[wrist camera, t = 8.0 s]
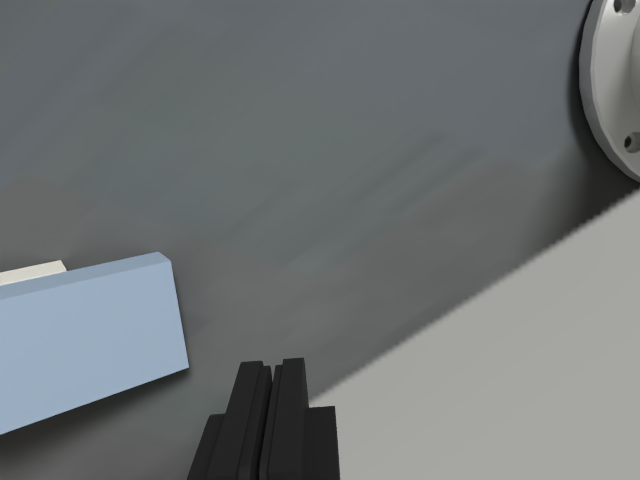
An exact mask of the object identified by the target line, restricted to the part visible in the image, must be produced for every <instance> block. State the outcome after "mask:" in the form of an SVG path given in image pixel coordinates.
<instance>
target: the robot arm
mask: <svg viewBox="0 0 640 480" xmlns="http://www.w3.org/2000/svg"><path fill="white" fill-rule="evenodd" d="M613 5H614V7H613ZM579 88H580V93H581V98H582V103H583V108H584V113H585V116H586V119H587V121H588V123H589V126H590V128H591V131H592V133H593V136H594V138H595V140H596V141H597V143H598V144H599V145H600V147H601V148H602V150H603V151H604V153H605V154H606V155H607V157H608V158H609V160H610V161H612V162H613V163H614V164H615V165H616V166H617V167H618V168H619V169H620V170H621V171H623V172H624V173H625V174H626V175H627V176H629V177H630V178H632V179H634V180H636V181H638V182H639V183H640V0H593V2H592V5H591V8H590V11H589V14H588V17H587V19H586V22H585V25H584V31H583V37H582V43H581V49H580V55H579ZM339 470H340V469H339V455H338V440H337V427H336V415H335V406H327V407H313V408H309V403H308V393H307V383H306V372H305V362H304V358H292V359H283V365H276V366H275V372H274V379H273V382H272V374H271V367H270V366H263V362H262V361H250V362H241V364H240V367H239V370H238V374H237V377H236V380H235V384H234V387H233V390H232V394H231V397H230V400H229V404H228V407H227V410H226V414H213V415H210V416H209V418H208V421H207V423H206V426H205V429H204V432H203V435H202V438H201V440H200V443H199V446H198V449H197V452H196V455H195V457H194V460H193V463H192V466H191V469H190V472H189V474H188V477H187V480H340V471H339Z"/></svg>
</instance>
